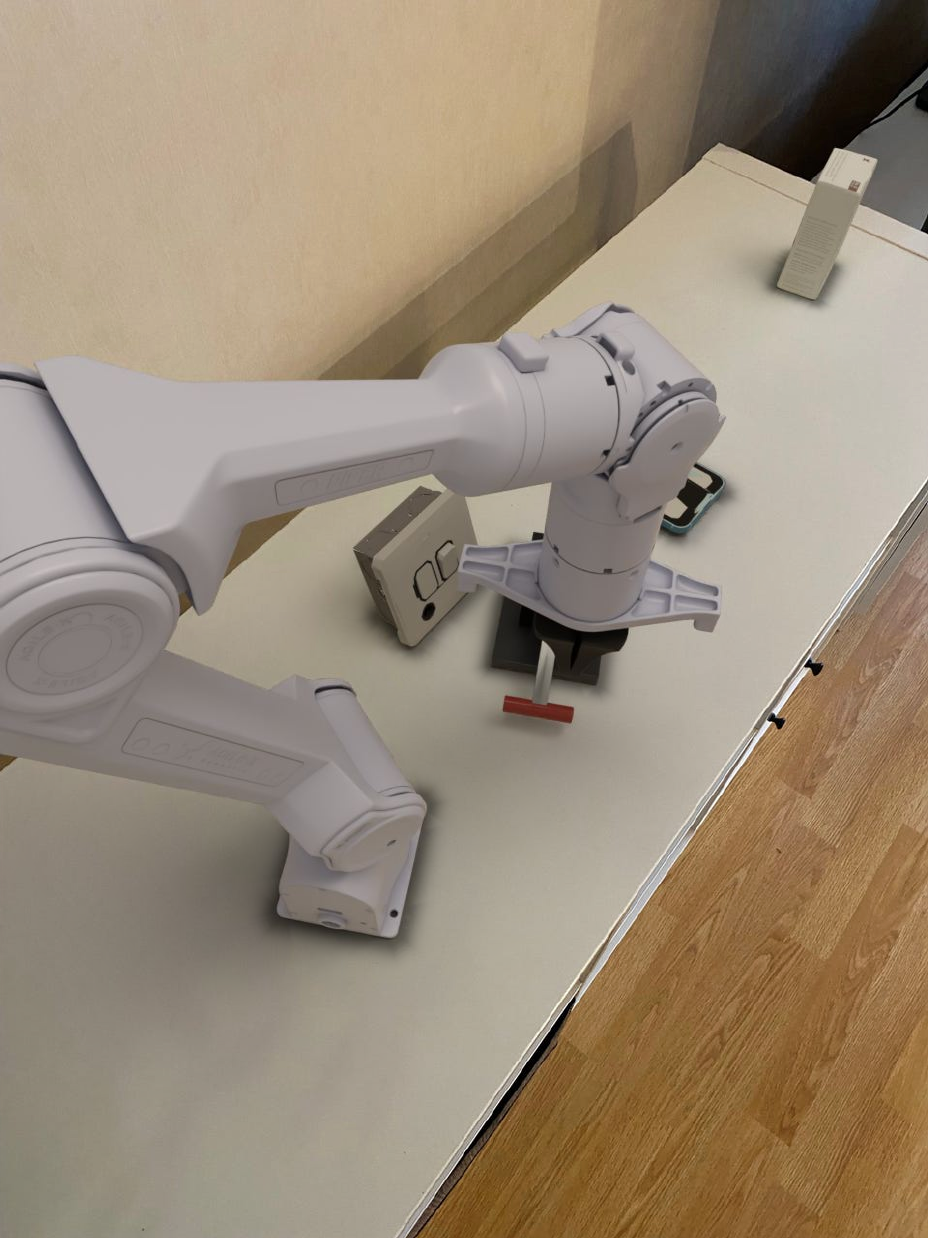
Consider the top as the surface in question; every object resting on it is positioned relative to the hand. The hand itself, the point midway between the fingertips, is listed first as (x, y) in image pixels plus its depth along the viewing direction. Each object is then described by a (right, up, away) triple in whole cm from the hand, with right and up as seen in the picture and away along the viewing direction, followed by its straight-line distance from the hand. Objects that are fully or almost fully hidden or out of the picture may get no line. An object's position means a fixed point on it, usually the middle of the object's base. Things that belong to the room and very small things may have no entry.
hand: (571, 661), depth 61 cm
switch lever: (-1, +1, +10) cm, 10 cm away
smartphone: (+8, +15, +22) cm, 28 cm away
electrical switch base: (0, +3, +14) cm, 15 cm away
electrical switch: (-10, +4, +15) cm, 19 cm away
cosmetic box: (+28, +37, +37) cm, 59 cm away
